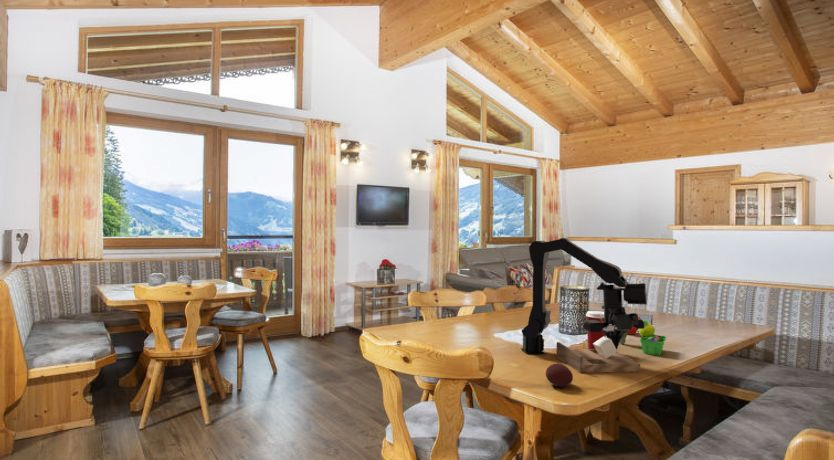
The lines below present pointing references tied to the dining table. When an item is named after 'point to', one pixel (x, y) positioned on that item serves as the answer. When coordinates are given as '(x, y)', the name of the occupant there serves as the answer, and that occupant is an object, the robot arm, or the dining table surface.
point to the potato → (559, 375)
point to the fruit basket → (651, 340)
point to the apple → (633, 329)
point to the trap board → (595, 360)
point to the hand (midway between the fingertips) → (614, 350)
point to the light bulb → (623, 337)
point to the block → (605, 347)
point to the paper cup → (594, 335)
